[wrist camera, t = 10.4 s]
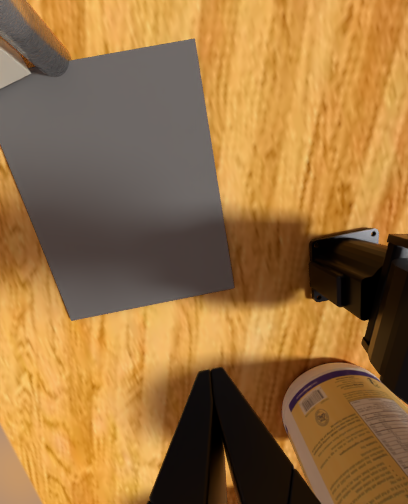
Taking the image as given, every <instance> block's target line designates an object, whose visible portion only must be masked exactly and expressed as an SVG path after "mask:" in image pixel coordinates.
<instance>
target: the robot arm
mask: <svg viewBox="0 0 408 504" xmlns="http://www.w3.org/2000/svg"><path fill="white" fill-rule="evenodd" d="M372 232H373V233H372ZM371 233H372V235H371ZM378 239H379V232H378V230H377V229H374V228H368V229H363V230H358V231H353V232H348V233H343V234H338V235H333V236H328V237H323V238H318V239H313V240H312V241H311V242H310V244H309V249H310V263H309V275H310V287H312V298H313V299H314V300H315V301H316V302H322V301H327V300H330V301H331V302H332V303H334V304H335V305H336V306H338V307H344V308H345V309H347V310H348V311H350V312H351V313H352V314H354V315H355V316H357V317H358V318H359V319H361V320H363V321H365V320H369V322H368V326H367V330H366V334H365V337H363V339H362V343H361V344H362V346H363V347H364V349H365V350H366V352H367V353H368V356H369V360H370V362H371V364H372V365H373V366H374V368H375V369H376V370H377V372H378V373H379V374H380V375H381V376H380V381H381V382H382V383H383V384H384V386H386V387H387V388H388V389H389V390H390V391H391V392H392V393H394V394H395V395H396V396H397V397H399V398H400V399H401V400H403V401H404V402H405V403H406V404H408V234H389V235H388V239H387V242H389V243H388V246H385V245H381V244H378ZM315 243H317V245H316V246H315V247H314V244H315ZM317 296H319V297H318V298H317ZM223 444H224V446H223ZM224 449H225V453H226V457H227V462H228V465H229V469H230V473H231V477H232V481H233V485H234V489H235V493H236V497H237V501H238V504H321V502H320V501H319V500H318V498H317V497H316V496H315V494H314V493H313V492H312V490H311V489H310V488H309V486H308V485H307V483H306V482H305V481H304V479H303V478H302V477H301V475H300V474H299V472H298V471H297V470H296V469H294V466H293V464H292V463H291V462H290V460H289V459H288V457H287V456H286V455H285V453H284V452H283V450H282V449H281V448H280V446H279V445H278V443H277V442H276V441H275V439H274V438H273V436H272V435H271V434H270V432H269V431H268V429H267V428H266V427H265V425H264V424H263V423H262V421H261V420H260V418H259V417H258V416H257V414H256V413H255V411H254V410H253V409H252V407H251V406H250V404H249V403H248V402H247V400H246V399H245V397H244V396H243V395H242V393H241V392H240V391H239V389H238V388H237V386H236V385H235V384H234V382H233V381H232V379H231V378H230V377H229V375H228V374H227V372H226V371H225V370H224V368H223V367H218V368H213V369H211V371H210V370H209V369H208V370H203V371H200V372H199V373H198V374H197V377H196V380H195V382H194V385H193V387H192V390H191V392H190V395H189V397H188V400H187V402H186V405H185V408H184V410H183V413H182V415H181V418H180V420H179V423H178V425H177V428H176V430H175V433H174V436H173V438H172V441H171V443H170V446H169V448H168V451H167V453H166V456H165V458H164V461H163V464H162V466H161V469H160V471H159V474H158V476H157V479H156V481H155V484H154V486H153V489H152V492H151V494H150V497H149V498H150V501H151V502H150V501H148V502H147V504H227V488H226V471H225V456H224Z"/></svg>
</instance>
